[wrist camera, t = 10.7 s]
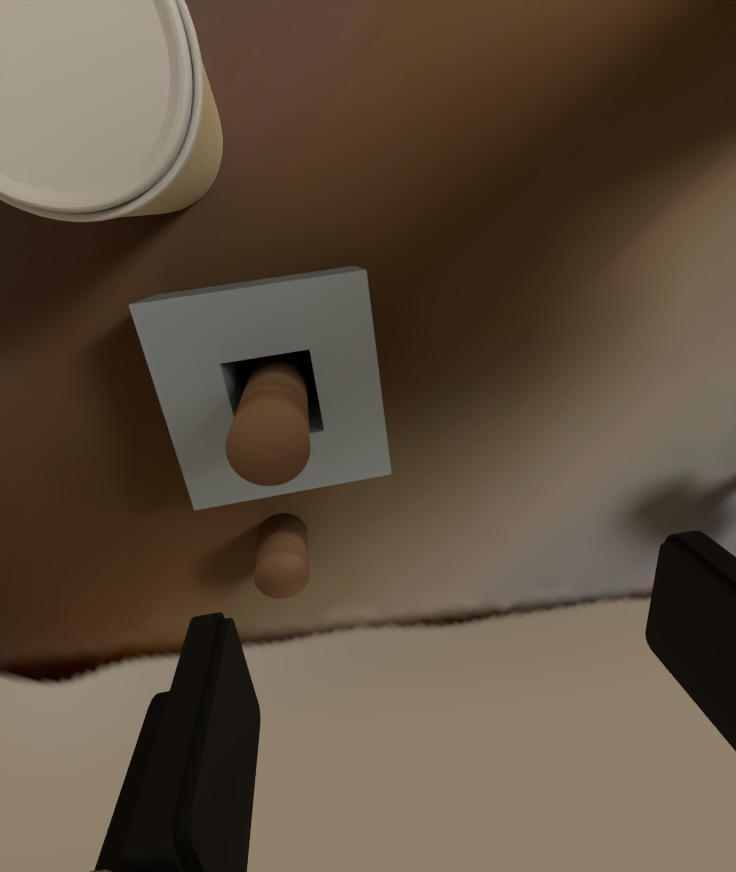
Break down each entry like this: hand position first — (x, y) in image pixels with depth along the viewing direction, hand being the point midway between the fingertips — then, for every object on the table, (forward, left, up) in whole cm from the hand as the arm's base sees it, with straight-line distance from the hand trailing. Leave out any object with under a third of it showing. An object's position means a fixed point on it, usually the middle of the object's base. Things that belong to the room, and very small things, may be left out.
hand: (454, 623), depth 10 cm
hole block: (0, -5, -23) cm, 23 cm away
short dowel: (+12, -7, -23) cm, 27 cm away
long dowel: (0, -4, -23) cm, 23 cm away
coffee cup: (-14, -9, -23) cm, 29 cm away
